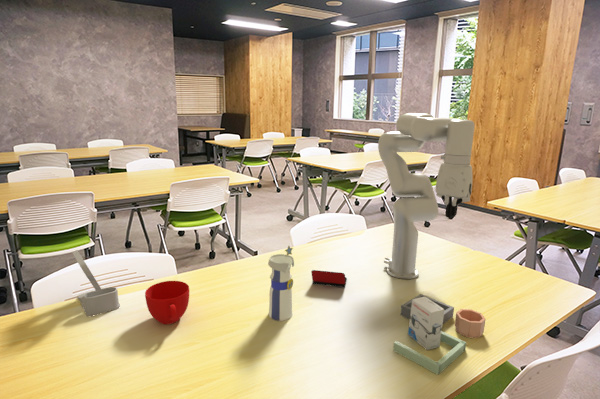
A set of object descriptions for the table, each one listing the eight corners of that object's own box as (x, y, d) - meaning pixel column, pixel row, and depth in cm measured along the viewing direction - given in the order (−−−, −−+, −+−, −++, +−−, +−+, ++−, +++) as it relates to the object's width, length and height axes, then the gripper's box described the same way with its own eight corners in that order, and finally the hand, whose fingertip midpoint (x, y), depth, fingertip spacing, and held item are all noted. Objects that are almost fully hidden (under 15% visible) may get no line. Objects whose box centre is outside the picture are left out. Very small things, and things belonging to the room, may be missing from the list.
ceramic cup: (152, 341, 110) (149, 310, 107) (145, 313, 124) (142, 285, 122) (197, 330, 115) (196, 300, 113) (186, 304, 130) (184, 277, 128)
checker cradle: (400, 315, 126) (401, 303, 125) (419, 303, 134) (420, 292, 133) (435, 331, 117) (436, 319, 116) (453, 317, 125) (455, 306, 124)
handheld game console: (346, 279, 152) (347, 262, 150) (344, 292, 141) (345, 273, 140) (315, 276, 154) (316, 258, 152) (310, 288, 144) (311, 269, 142)
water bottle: (298, 310, 127) (299, 239, 122) (286, 323, 120) (287, 248, 114) (276, 305, 131) (276, 235, 125) (263, 317, 123) (263, 243, 117)
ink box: (407, 334, 115) (410, 298, 113) (420, 330, 117) (424, 295, 115) (427, 350, 108) (431, 313, 105) (441, 346, 110) (445, 309, 107)
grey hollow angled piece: (121, 308, 127) (116, 257, 123) (87, 318, 121) (80, 265, 117) (108, 288, 140) (103, 242, 136) (77, 296, 134) (70, 248, 130)
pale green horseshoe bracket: (393, 350, 108) (394, 342, 107) (422, 329, 118) (423, 322, 117) (437, 374, 98) (438, 366, 98) (465, 350, 108) (466, 342, 108)
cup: (450, 330, 118) (452, 314, 117) (462, 321, 123) (464, 306, 122) (475, 341, 112) (477, 325, 111) (486, 331, 117) (488, 316, 116)
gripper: (428, 158, 122) (423, 214, 127) (475, 164, 112) (468, 224, 116) (440, 156, 127) (435, 210, 132) (486, 162, 117) (478, 220, 121)
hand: (450, 216), depth 124 cm, fingers closed
